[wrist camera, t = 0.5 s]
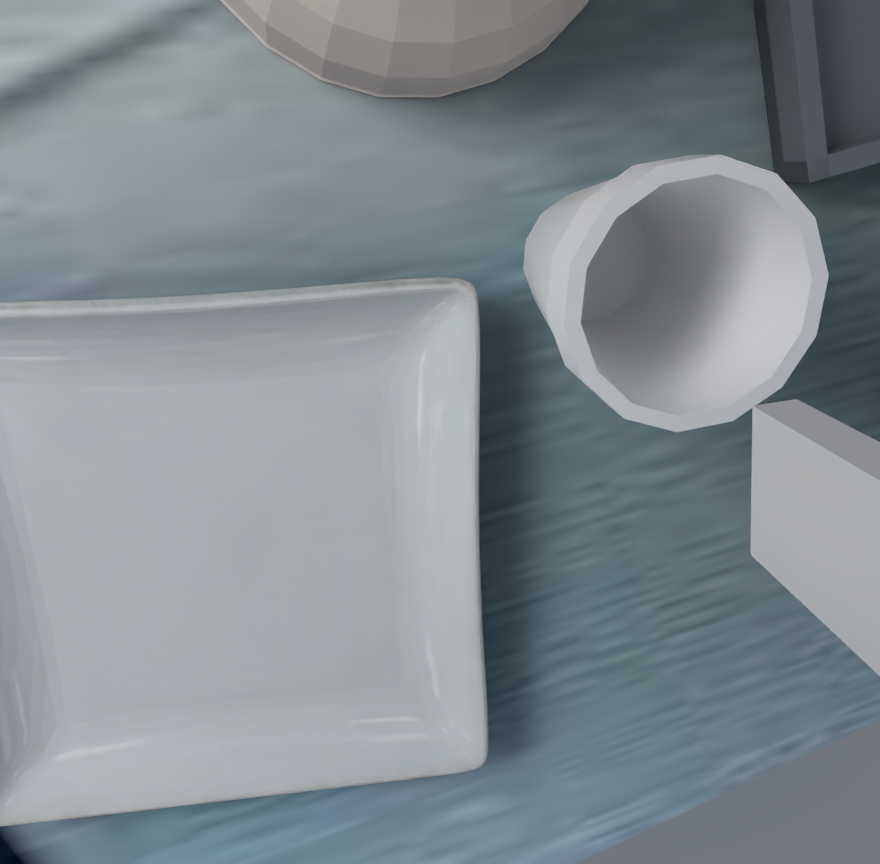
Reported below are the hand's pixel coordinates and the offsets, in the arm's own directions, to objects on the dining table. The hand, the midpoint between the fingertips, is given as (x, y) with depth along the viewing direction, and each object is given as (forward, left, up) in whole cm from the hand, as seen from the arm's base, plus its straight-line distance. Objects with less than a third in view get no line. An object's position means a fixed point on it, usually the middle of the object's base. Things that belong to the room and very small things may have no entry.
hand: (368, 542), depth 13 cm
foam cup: (+2, +12, -28) cm, 30 cm away
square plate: (+11, -10, -28) cm, 32 cm away
